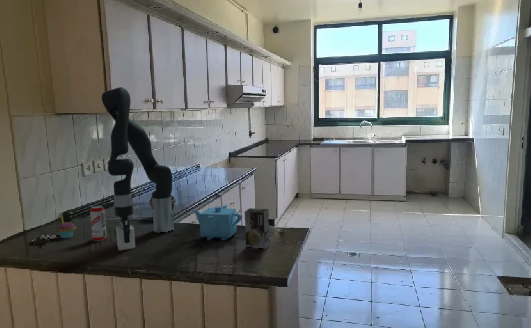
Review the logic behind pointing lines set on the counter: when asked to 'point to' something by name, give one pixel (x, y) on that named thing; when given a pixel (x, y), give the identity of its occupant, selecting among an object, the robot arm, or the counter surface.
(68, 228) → the cupcake
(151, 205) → the flowerpot
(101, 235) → the beer can
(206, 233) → the teakettle
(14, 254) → the counter surface
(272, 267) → the counter surface
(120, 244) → the grey rectangular block
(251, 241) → the coffee box
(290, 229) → the counter surface
